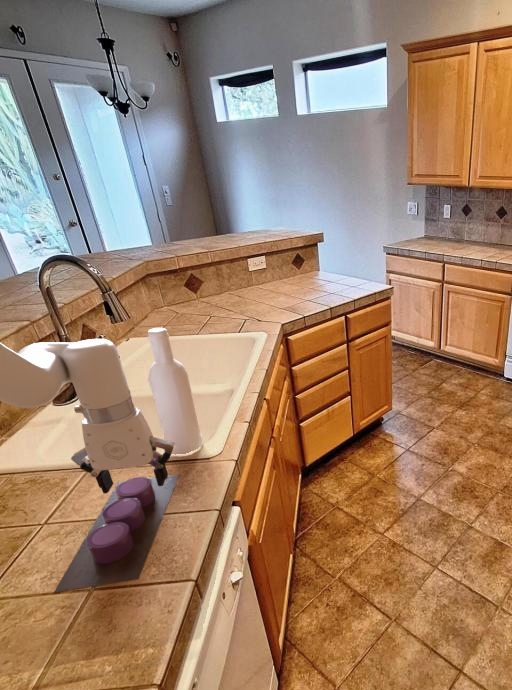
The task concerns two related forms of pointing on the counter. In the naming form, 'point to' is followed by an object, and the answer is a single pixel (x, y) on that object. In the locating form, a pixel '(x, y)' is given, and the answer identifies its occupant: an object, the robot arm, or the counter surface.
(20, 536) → the counter surface
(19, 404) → the robot arm
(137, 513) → the dish centre
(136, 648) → the counter surface
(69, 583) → the dark grey board
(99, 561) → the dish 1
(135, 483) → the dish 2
